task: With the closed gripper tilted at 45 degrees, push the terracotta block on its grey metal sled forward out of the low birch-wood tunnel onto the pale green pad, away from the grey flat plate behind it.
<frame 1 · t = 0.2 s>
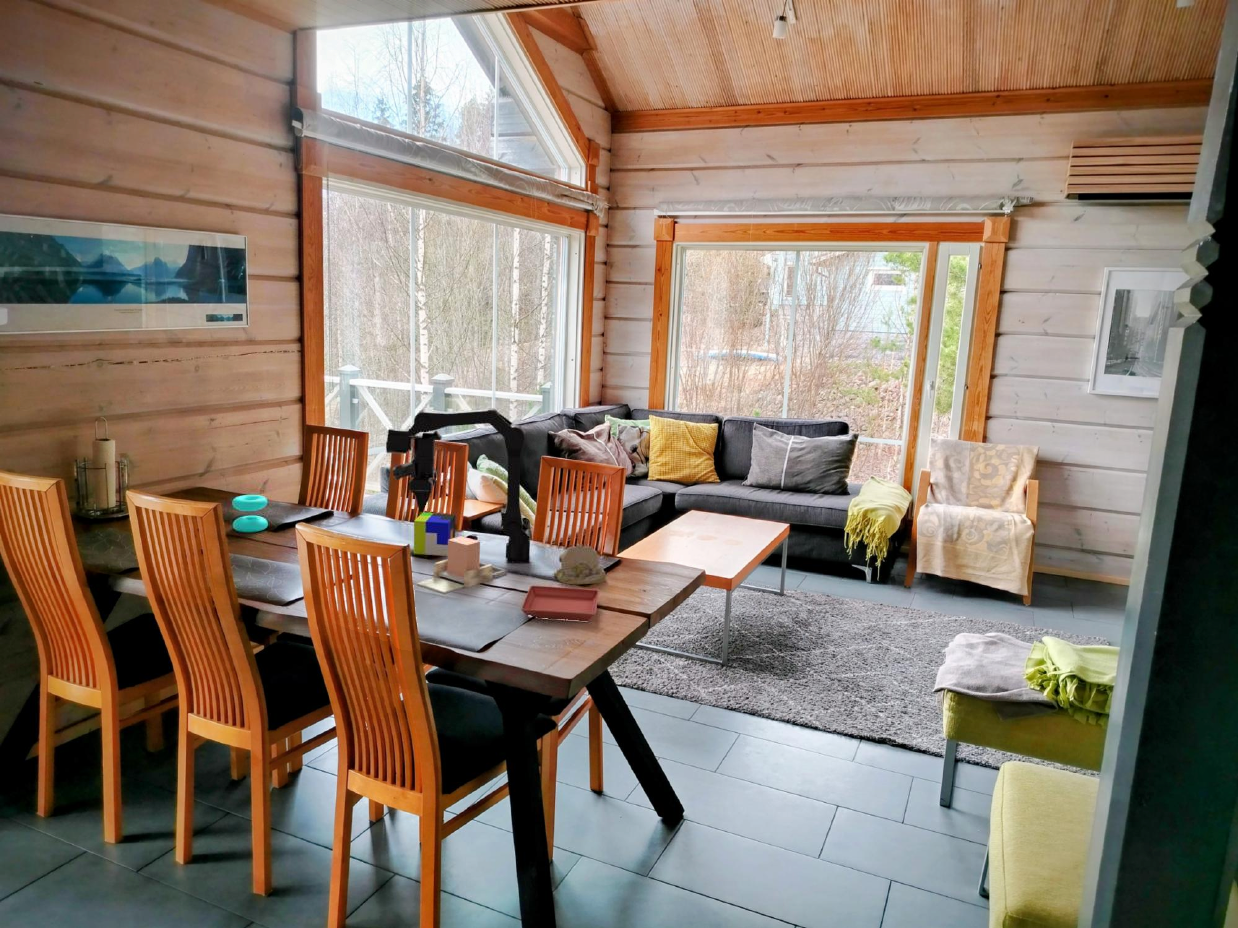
hand: (422, 508, 249), 15 cm above the table, tool pointing down, fingers open, 9 cm apart
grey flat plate: (484, 569, 243), on the table
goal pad: (440, 584, 230), on the table
donuts: (250, 529, 271), on the table
ceramic model: (578, 578, 243), on the table
plant saucer: (560, 611, 218), on the table
puzzle toy: (434, 550, 261), on the table
block sled: (463, 558, 236), point 6 cm above the table, slide at 0.0 cm
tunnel: (457, 579, 235), on the table
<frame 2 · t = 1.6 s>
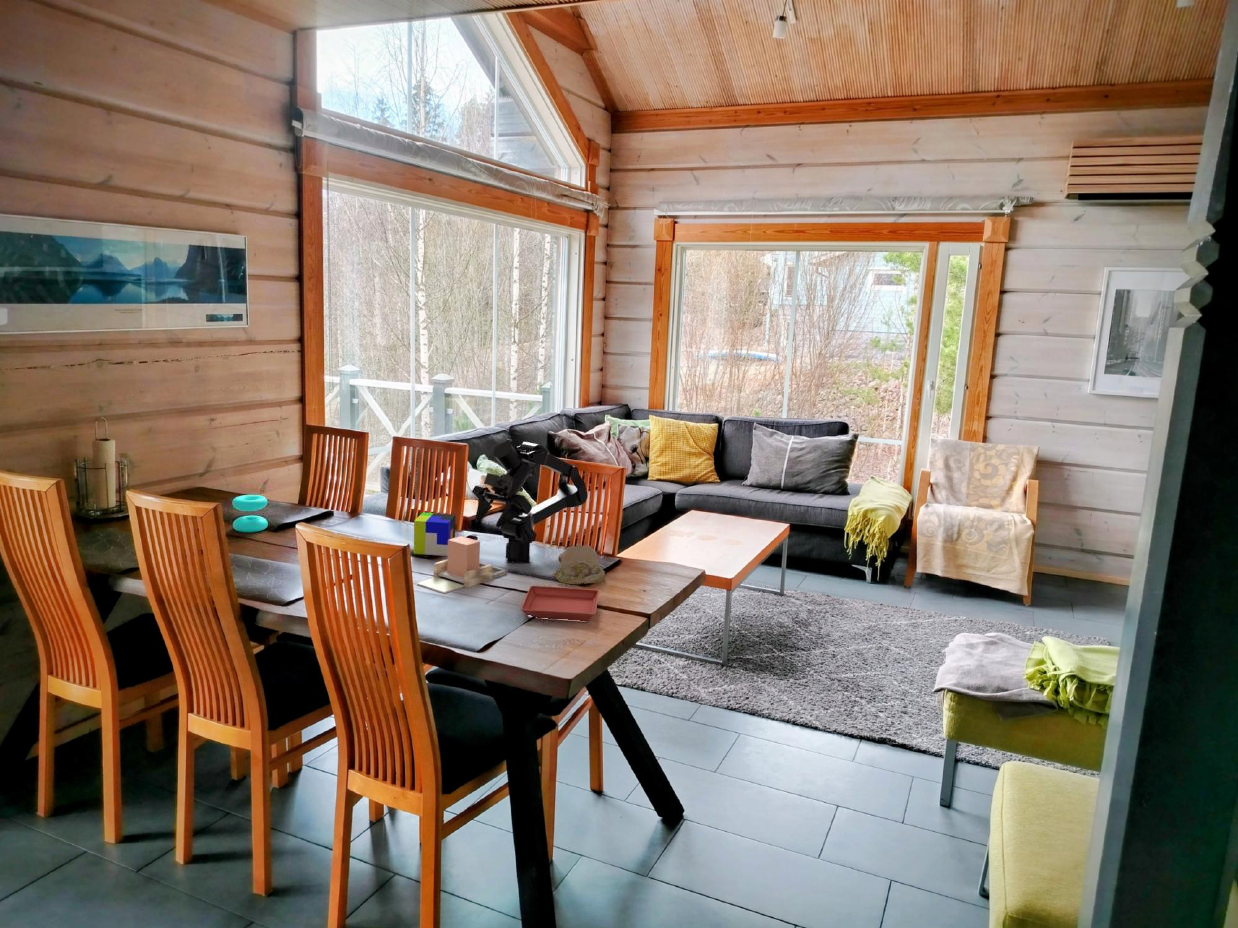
hand: (486, 523, 242), 13 cm above the table, tool tilted 45°, fingers open, 8 cm apart
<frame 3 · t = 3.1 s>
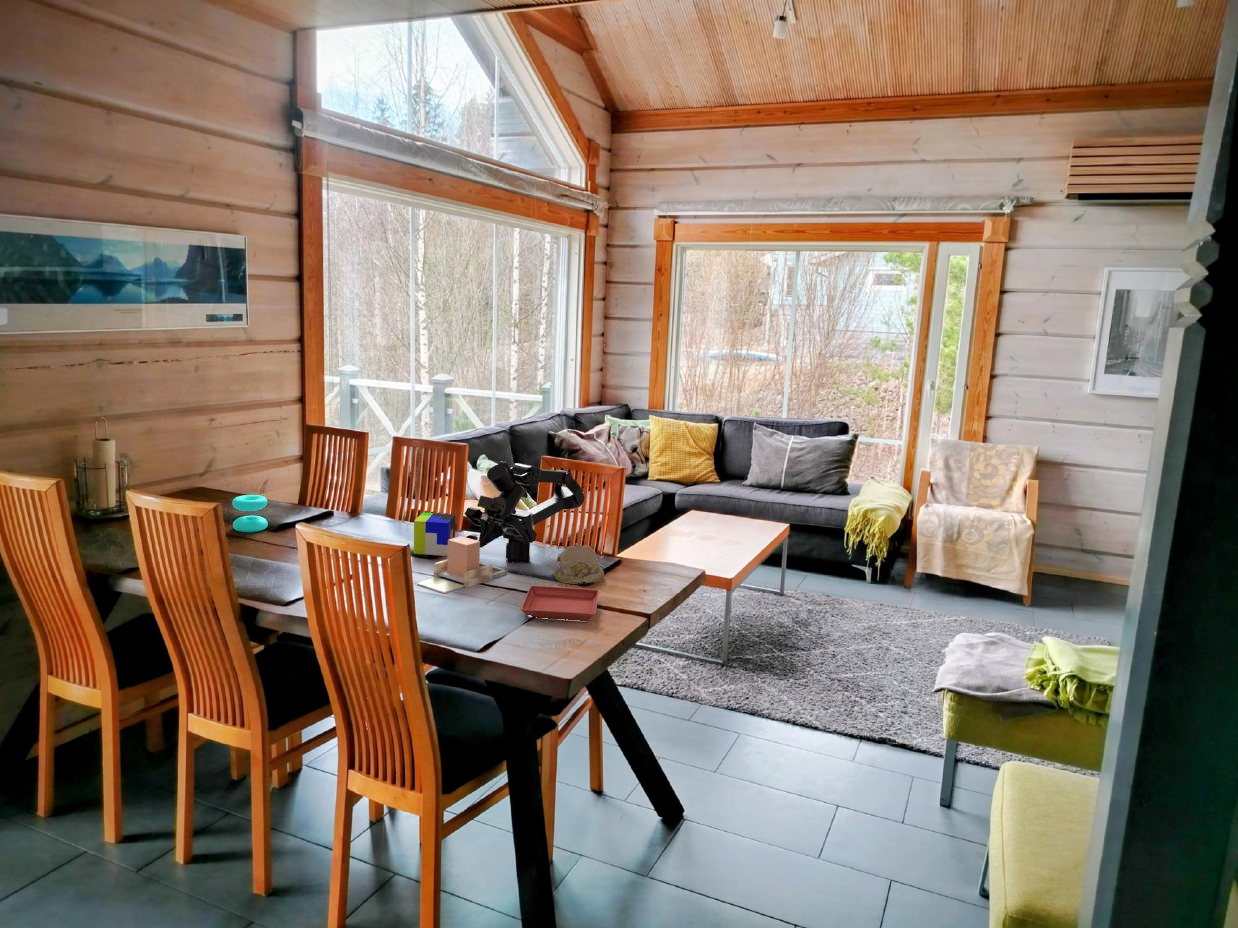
hand: (479, 546, 240), 8 cm above the table, tool tilted 45°, fingers closed
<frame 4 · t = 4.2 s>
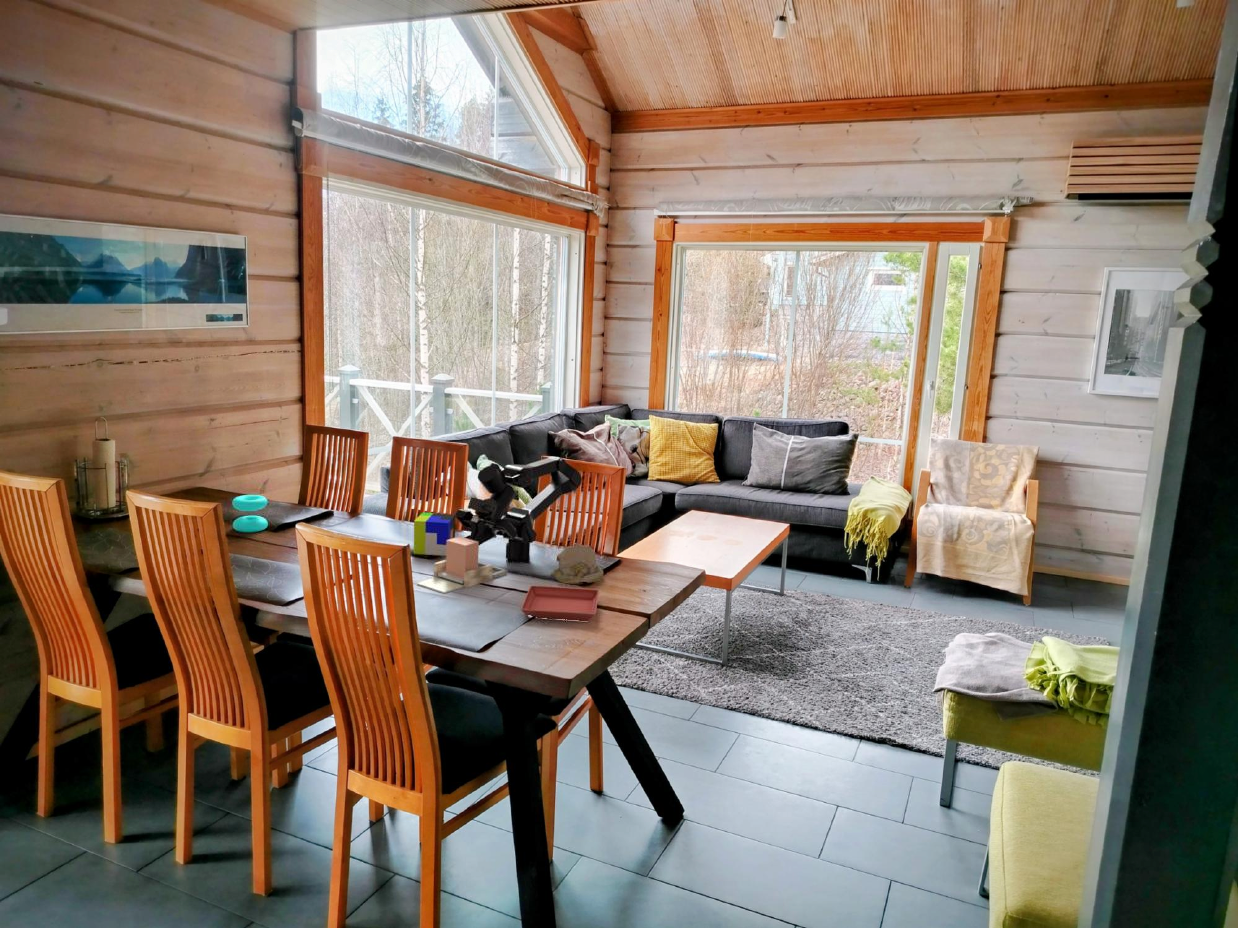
hand: (469, 549, 237), 8 cm above the table, tool tilted 45°, fingers closed, pressing on block sled
block sled: (462, 558, 235), point 6 cm above the table, slide at 0.5 cm, touching gripper
everything else where it was.
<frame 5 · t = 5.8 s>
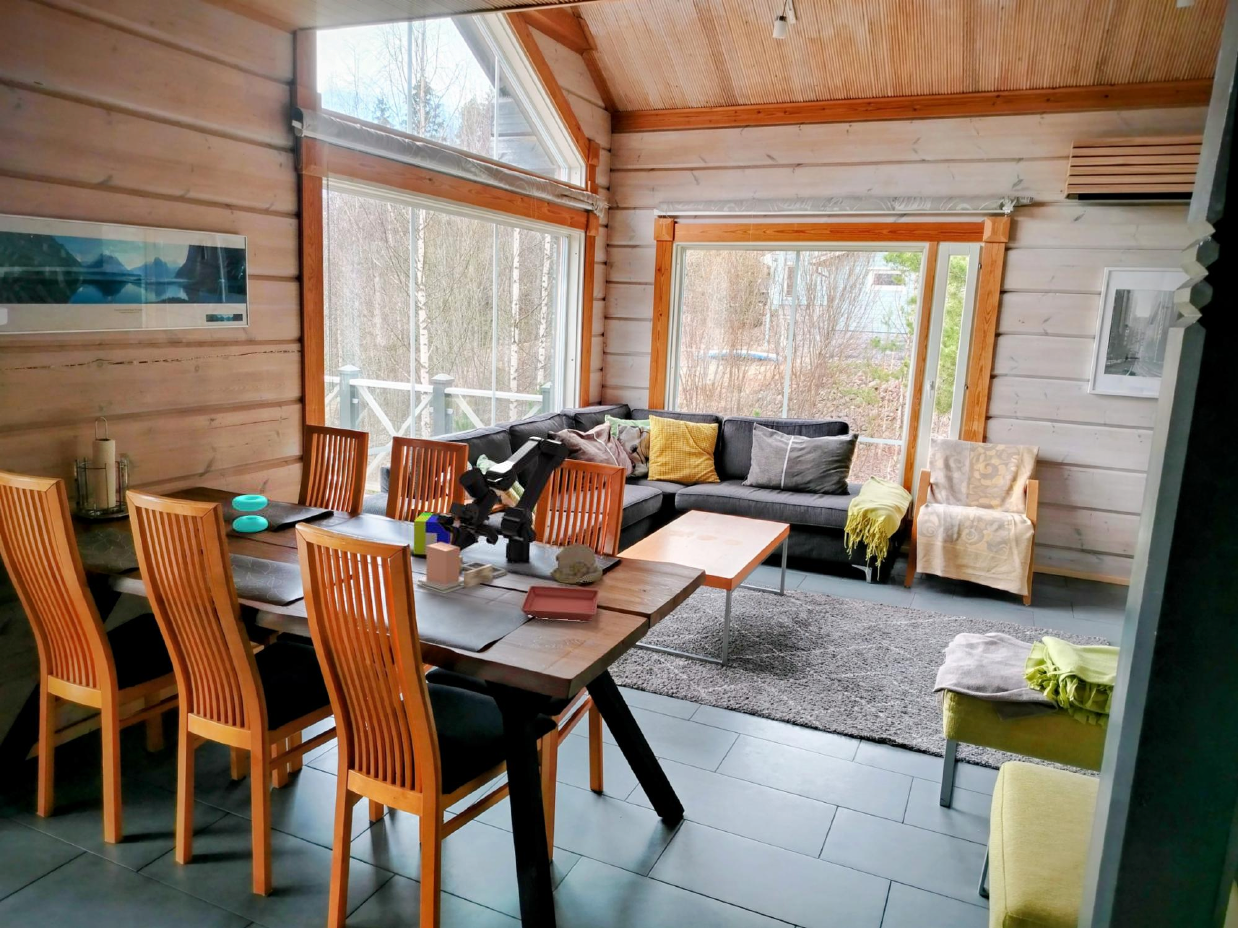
hand: (450, 554, 231), 8 cm above the table, tool tilted 45°, fingers closed
block sled: (443, 564, 229), point 6 cm above the table, slide at 7.7 cm
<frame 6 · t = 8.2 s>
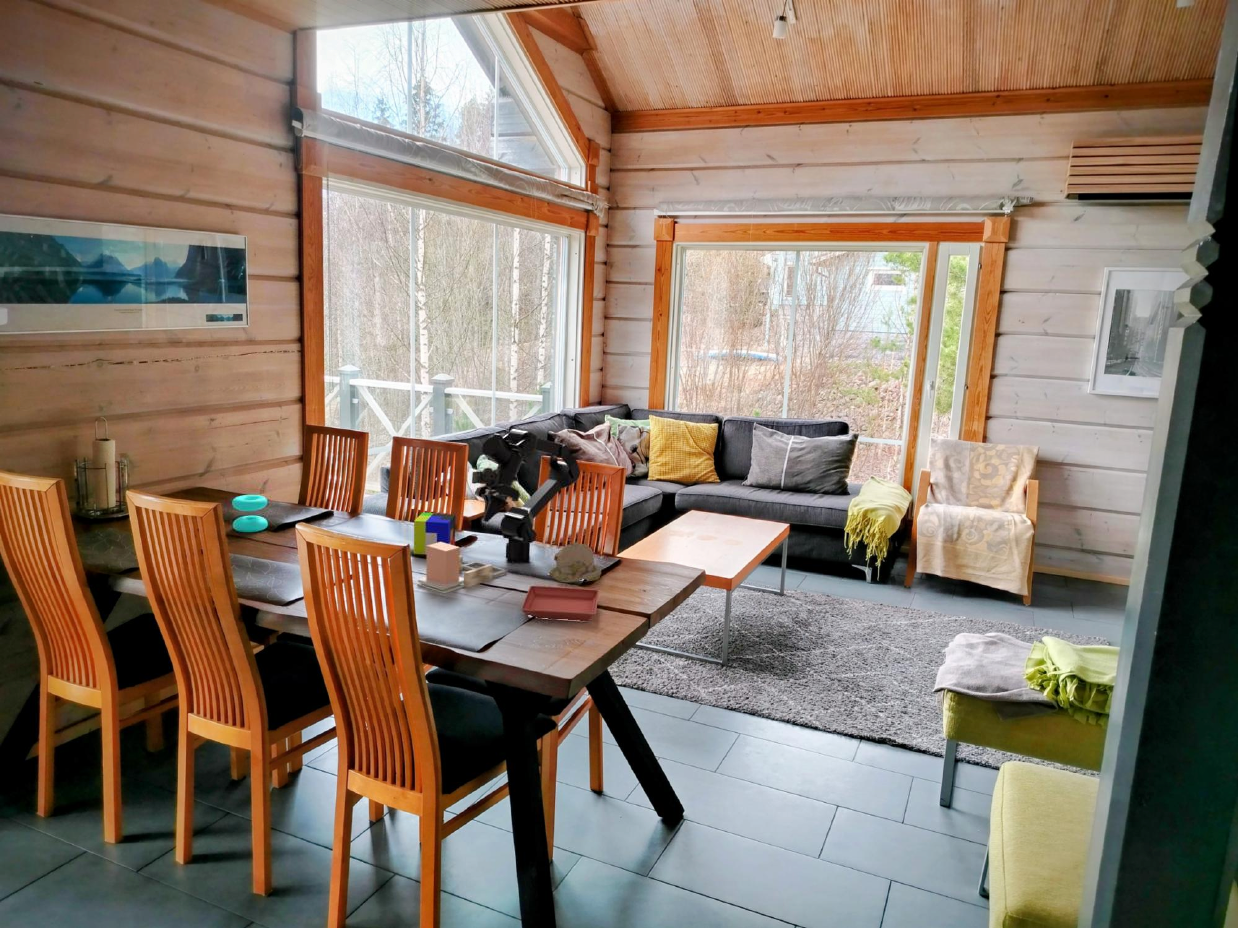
hand: (485, 521, 241), 14 cm above the table, tool tilted 30°, fingers closed
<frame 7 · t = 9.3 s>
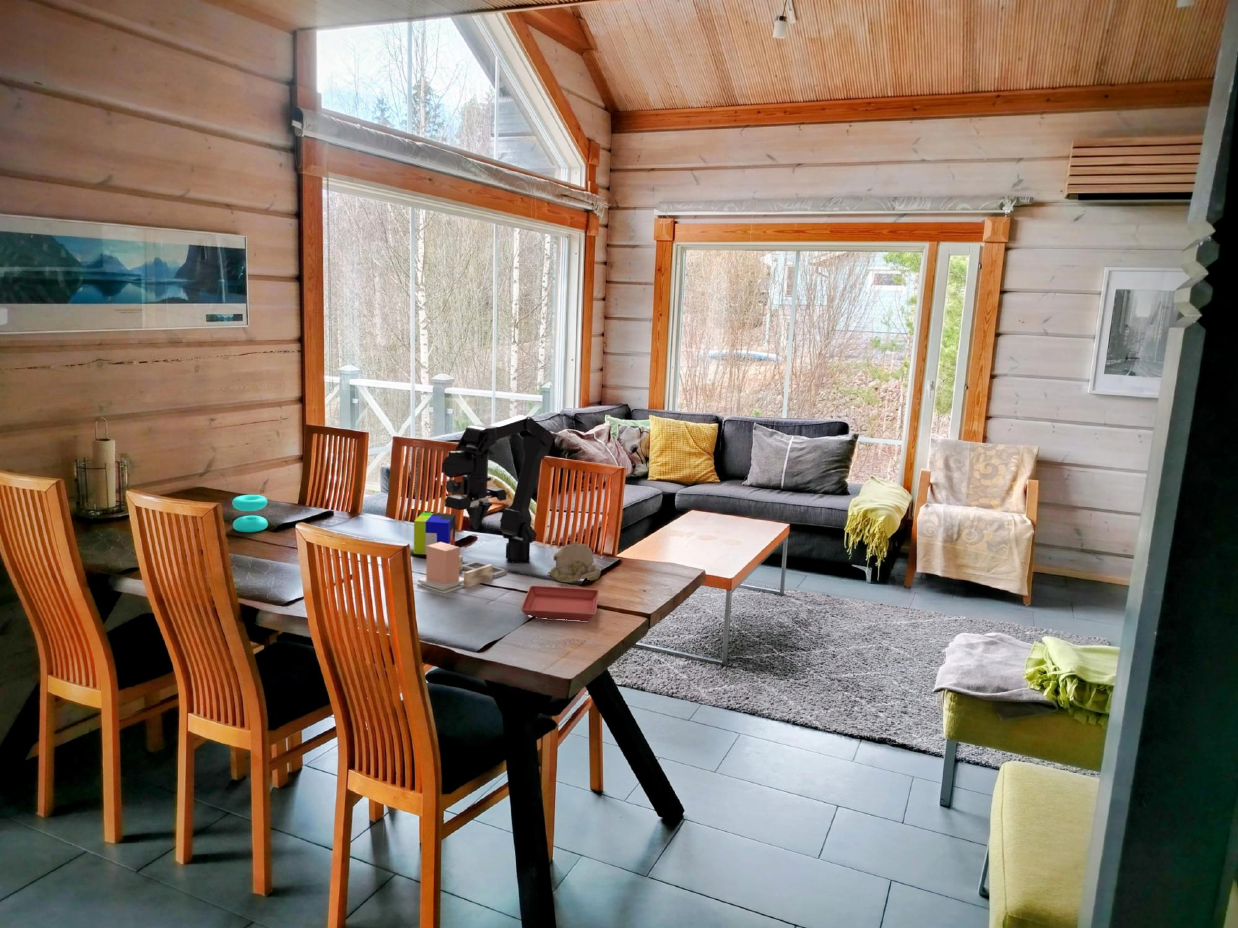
hand: (475, 528, 238), 13 cm above the table, tool pointing down, fingers closed
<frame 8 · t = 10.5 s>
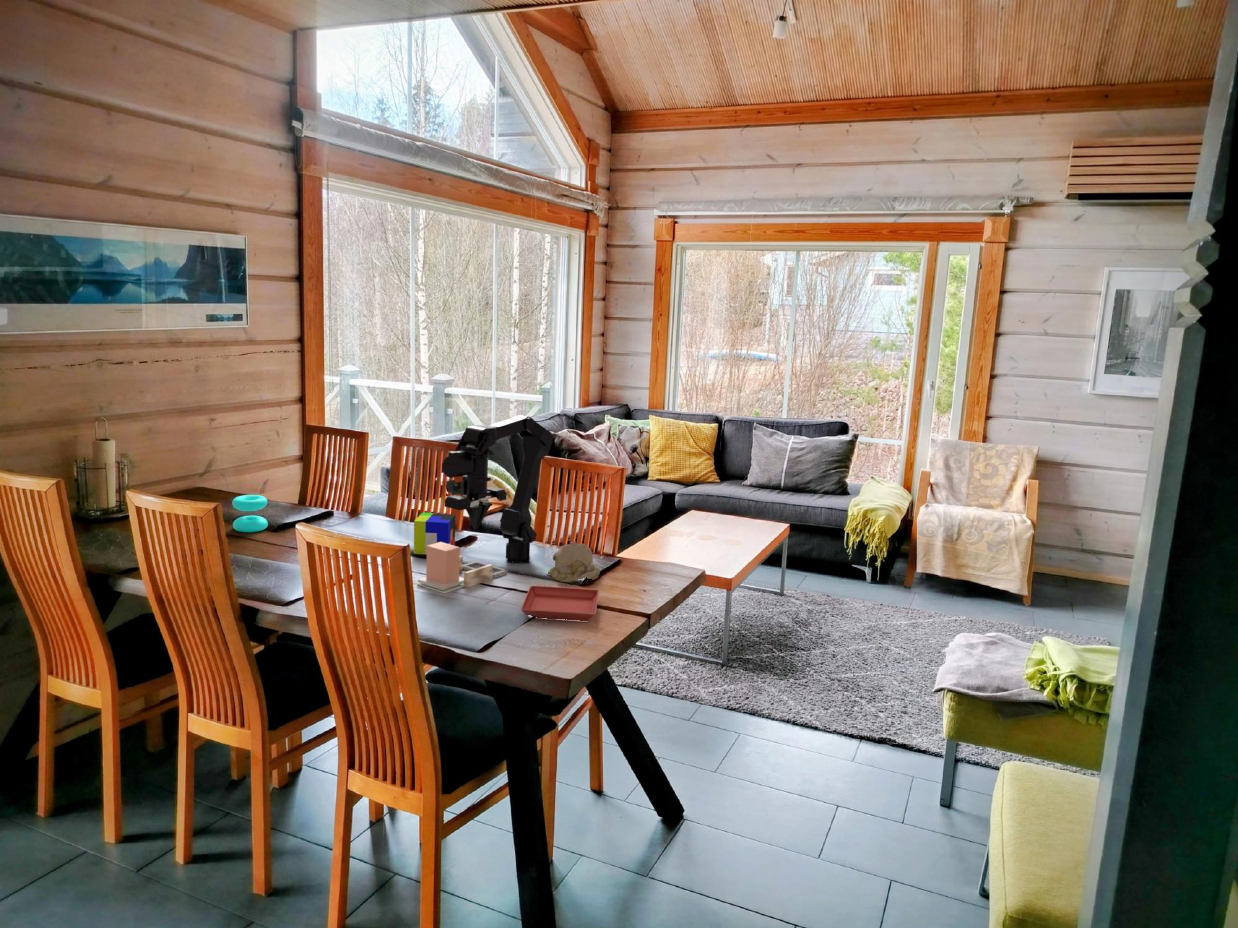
hand: (475, 528, 238), 13 cm above the table, tool pointing down, fingers closed
at the end: block sled slide at 7.7 cm; puzzle toy moved 0.3 cm from its start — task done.
